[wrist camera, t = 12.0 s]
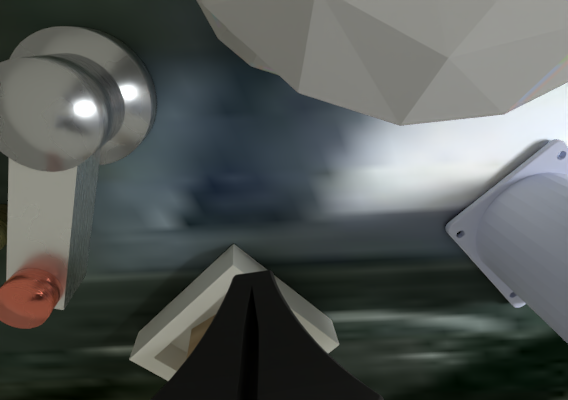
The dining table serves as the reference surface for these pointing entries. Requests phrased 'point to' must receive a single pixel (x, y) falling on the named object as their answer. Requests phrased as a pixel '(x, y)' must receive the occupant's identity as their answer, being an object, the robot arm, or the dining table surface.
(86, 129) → the crank
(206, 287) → the tray
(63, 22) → the dining table surface
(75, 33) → the crank base
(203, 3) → the french press
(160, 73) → the dining table surface
